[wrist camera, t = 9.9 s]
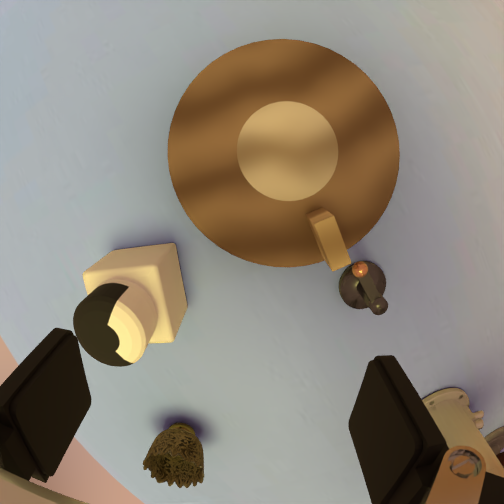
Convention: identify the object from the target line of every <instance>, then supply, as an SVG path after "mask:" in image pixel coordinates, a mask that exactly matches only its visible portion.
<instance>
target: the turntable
mask: <svg viewBox="0 0 504 504" xmlns="http://www.w3.org/2000/svg"><path fill="white" fill-rule="evenodd" d="M399 156H400V153H399V140H398V135H397V130H396V125H395V122H394V119H393V116H392V113H391V111H390V109H389V107H388V105H387V103H386V101H385V99H384V97H383V96H382V94H381V93H380V91H379V89H378V88H377V87H376V85H375V84H374V83H373V82H372V81H371V79H370V78H369V77H368V76H367V75H366V74H365V73H364V72H363V71H362V70H361V69H360V68H358V67H357V66H356V65H355V64H354V63H352V62H351V61H349V60H348V59H346V58H345V57H343V56H342V55H340V54H338V53H336V52H334V51H332V50H330V49H328V48H325V47H322V46H319V45H317V44H313V43H309V42H304V41H300V40H288V39H275V40H265V41H259V42H254V43H250V44H247V45H244V46H241V47H238V48H236V49H234V50H232V51H230V52H228V53H226V54H224V55H222V56H221V57H219V58H218V59H216V60H215V61H213V62H212V63H211V64H209V65H208V66H207V67H206V68H205V69H204V70H203V71H201V72H200V73H199V74H198V76H197V77H196V78H195V79H194V80H193V81H192V83H191V84H190V85H189V87H188V88H187V90H186V91H185V93H184V94H183V96H182V97H181V99H180V102H179V104H178V106H177V108H176V110H175V113H174V116H173V119H172V123H171V126H170V132H169V138H168V163H169V172H170V176H171V180H172V183H173V187H174V190H175V192H176V194H177V197H178V199H179V202H180V203H181V205H182V207H183V209H184V210H185V212H186V214H187V215H188V217H189V218H190V219H191V221H192V222H193V223H194V224H195V226H196V227H197V228H198V229H199V230H200V231H201V232H202V233H203V234H204V235H205V236H206V237H207V238H208V239H210V240H211V241H212V242H213V243H215V244H216V245H217V246H219V247H220V248H222V249H224V250H225V251H227V252H229V253H230V254H232V255H235V256H237V257H239V258H241V259H244V260H246V261H250V262H253V263H257V264H260V265H267V266H273V267H297V266H305V265H310V264H314V263H319V262H321V261H324V260H325V261H326V263H327V264H328V266H329V267H330V268H331V270H332V271H335V270H337V269H340V268H342V267H344V266H346V265H349V264H351V261H350V258H349V255H348V252H347V249H349V248H350V247H352V246H353V245H354V244H356V243H357V242H358V241H360V240H361V239H362V238H363V237H364V236H365V235H366V234H367V233H368V232H369V231H370V230H371V229H372V228H373V226H374V225H375V224H376V223H377V222H378V220H379V219H380V217H381V216H382V214H383V213H384V211H385V209H386V207H387V205H388V203H389V201H390V199H391V197H392V194H393V191H394V188H395V185H396V181H397V175H398V170H399Z"/></svg>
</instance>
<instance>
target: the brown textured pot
mask: <svg viewBox="0 0 504 504" xmlns="http://www.w3.org/2000/svg"><path fill="white" fill-rule="evenodd" d="M143 465H144V467H143V468H144V470H146V469H147V468H149V470H150V471H151V477H152V478H154V477H155V478H156V480H157V482H158V483H163V482H166V481H167V482H168V485H169V486H171V485H173V483H174V482H175V483H176V484H177V486H178V487H179V488H181V487H182V486H185V487H186V488H188V487H189V486H190V485H191V483H193V486H194V487H195V486H196V485H197V482H199V483H202V482H203V478H204V457H203V448H202V445H201V442H200V441H199V439H198V438H197V437H196V436H195V432H194V430H193V428H192V427H191V426H189V425H187V424H185V423H175V424H173V425H171V426H170V427H169V429H167V430H164V431H163V432H161V433H160V434H159V435H158V436H157V437H156V438H155V440H154V442H153V443H152V445H151V447H150V449H149V451H148V453H147V456H146V458H145V460H144V461H143Z"/></svg>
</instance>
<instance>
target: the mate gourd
mask: <svg viewBox="0 0 504 504" xmlns="http://www.w3.org/2000/svg"><path fill="white" fill-rule="evenodd" d="M484 439H485V440H486V442H487V443H488V445H489V446H490V448H491V449H492V451H493V452H494V454H495V455H496V457H497V458H498V460H499V462H500V463H501V465H502V466H503V468H504V452H502V453H500V451H501V450H502V449H503V448H504V426H503V427H500V428H498V429H496V430H495V431H493V432H492V433H490V434H489V435H487V436H486V437H485V438H484Z"/></svg>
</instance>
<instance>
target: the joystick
mask: <svg viewBox="0 0 504 504" xmlns="http://www.w3.org/2000/svg"><path fill="white" fill-rule="evenodd" d="M385 287H386V278H385V275H384V273H383V271H382V270H381V269H380V268H379V267H378V266H377V265H375V264H374V263H372V262H368V261H359V262H356V263H354V264H352V265H351V266H349V267H348V268H347V269H346V270H345V271H344V272H343V274H342V276H341V278H340V281H339V292H340V295H341V297H342V299H343V300H344V302H345V303H346V304H347V305H349V306H350V307H352V308H356V309H364V308H368V307H369V308H370V309H371V311H372V312H373V313H374V314H375V315H381V314H383V313H385V312H386V310H387V308H388V303H387V301H386V300H385V299H384V297H383V296H382V295H383V293H384V291H385Z"/></svg>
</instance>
